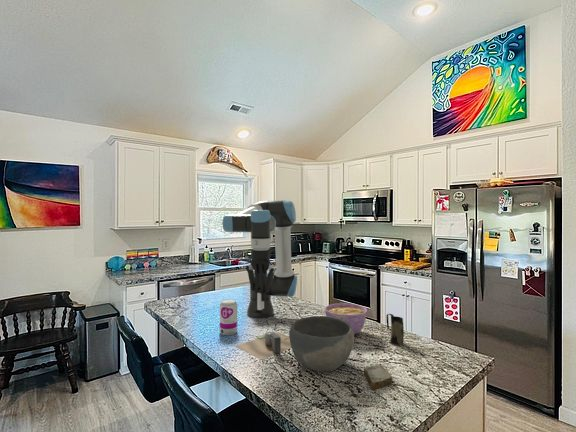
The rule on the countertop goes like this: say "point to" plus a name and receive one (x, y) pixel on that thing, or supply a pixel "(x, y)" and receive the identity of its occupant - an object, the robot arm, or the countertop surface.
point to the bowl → (321, 342)
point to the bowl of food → (348, 314)
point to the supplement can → (228, 317)
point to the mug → (396, 330)
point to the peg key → (273, 341)
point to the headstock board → (264, 346)
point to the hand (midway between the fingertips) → (260, 308)
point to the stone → (377, 377)
